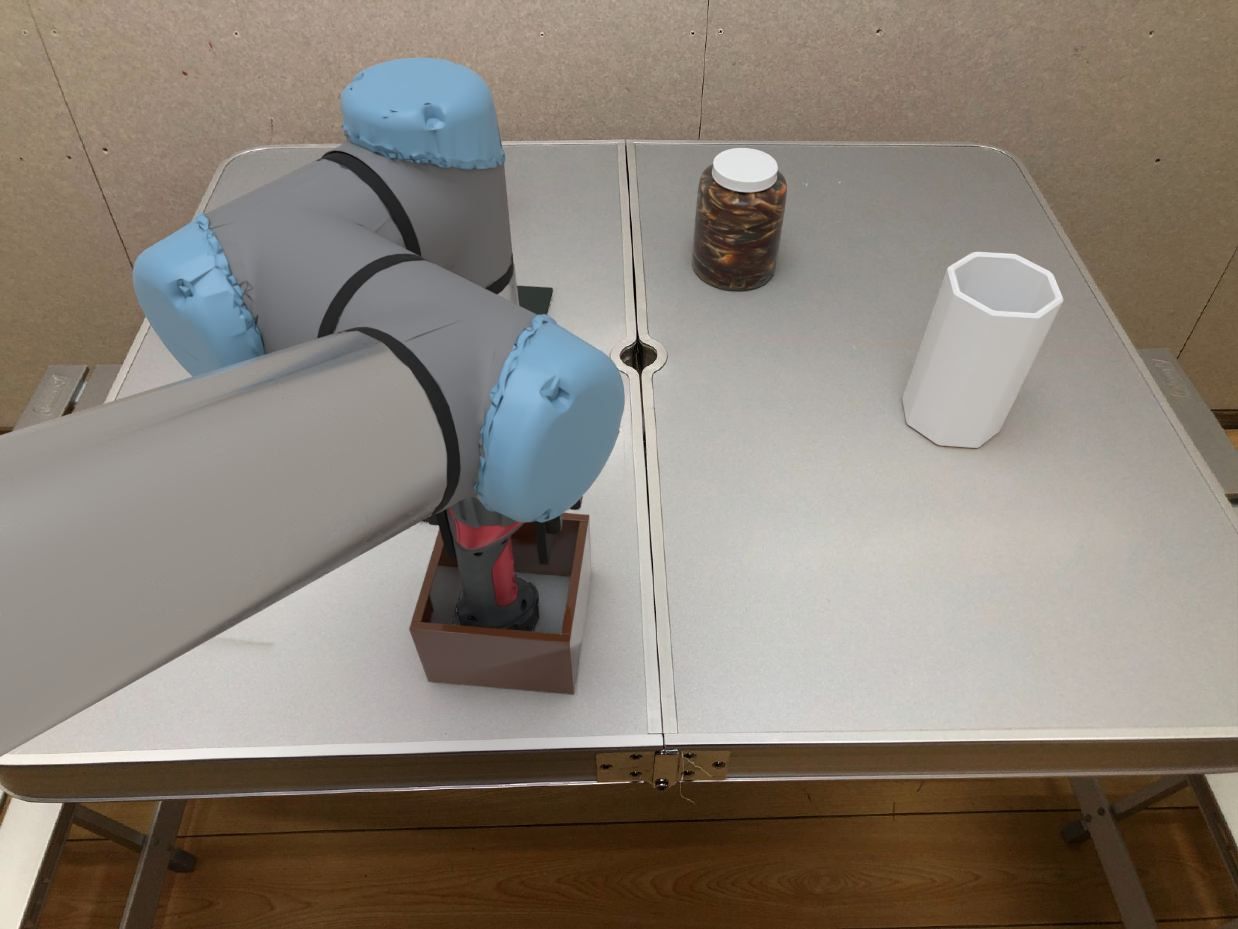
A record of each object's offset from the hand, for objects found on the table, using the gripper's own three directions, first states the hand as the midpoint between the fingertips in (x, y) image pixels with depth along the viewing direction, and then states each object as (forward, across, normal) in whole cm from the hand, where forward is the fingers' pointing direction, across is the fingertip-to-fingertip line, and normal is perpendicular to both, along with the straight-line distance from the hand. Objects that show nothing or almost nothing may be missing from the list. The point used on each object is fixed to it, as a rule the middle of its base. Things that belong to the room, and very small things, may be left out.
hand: (500, 547), depth 69 cm
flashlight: (+12, 0, 0) cm, 12 cm away
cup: (+12, -45, -32) cm, 57 cm away
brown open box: (+12, 0, 0) cm, 12 cm away
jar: (+12, -20, -59) cm, 63 cm away
